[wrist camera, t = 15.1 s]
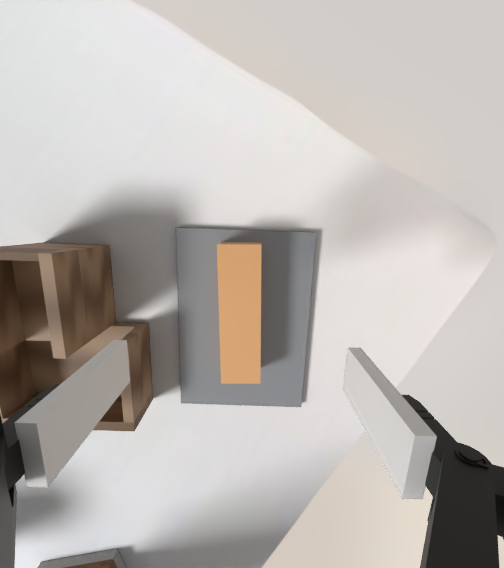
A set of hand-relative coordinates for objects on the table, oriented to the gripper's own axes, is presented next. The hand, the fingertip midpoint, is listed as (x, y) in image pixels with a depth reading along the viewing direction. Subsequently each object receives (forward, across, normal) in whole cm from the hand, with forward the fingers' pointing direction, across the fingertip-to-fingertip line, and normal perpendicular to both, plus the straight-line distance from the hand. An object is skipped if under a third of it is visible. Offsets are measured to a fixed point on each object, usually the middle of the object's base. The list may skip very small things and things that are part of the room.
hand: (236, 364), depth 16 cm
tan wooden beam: (+13, 0, -1) cm, 13 cm away
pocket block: (+13, -18, -3) cm, 22 cm away
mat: (+13, 0, -2) cm, 13 cm away
